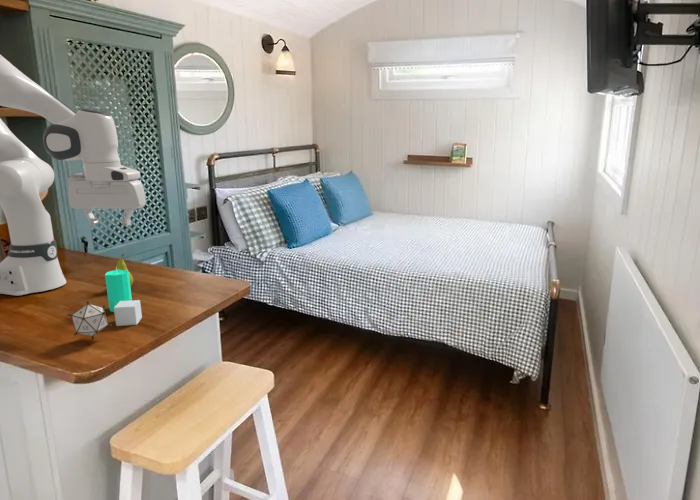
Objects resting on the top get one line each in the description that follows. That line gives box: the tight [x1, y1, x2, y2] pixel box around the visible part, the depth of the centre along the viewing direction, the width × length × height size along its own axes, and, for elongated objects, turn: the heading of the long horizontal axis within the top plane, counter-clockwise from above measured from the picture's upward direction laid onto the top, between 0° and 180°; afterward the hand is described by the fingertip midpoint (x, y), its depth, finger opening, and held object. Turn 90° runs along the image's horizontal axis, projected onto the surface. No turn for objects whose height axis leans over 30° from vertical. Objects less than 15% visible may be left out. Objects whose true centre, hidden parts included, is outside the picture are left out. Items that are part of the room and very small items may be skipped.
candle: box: [104, 267, 133, 313], centre depth 136 cm, size 6×6×12 cm
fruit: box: [115, 253, 134, 288], centre depth 152 cm, size 6×6×12 cm
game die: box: [67, 300, 113, 340], centre depth 116 cm, size 9×8×10 cm
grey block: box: [113, 299, 143, 327], centre depth 128 cm, size 5×5×5 cm
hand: (110, 224), depth 132 cm, fingers open, 8 cm apart
